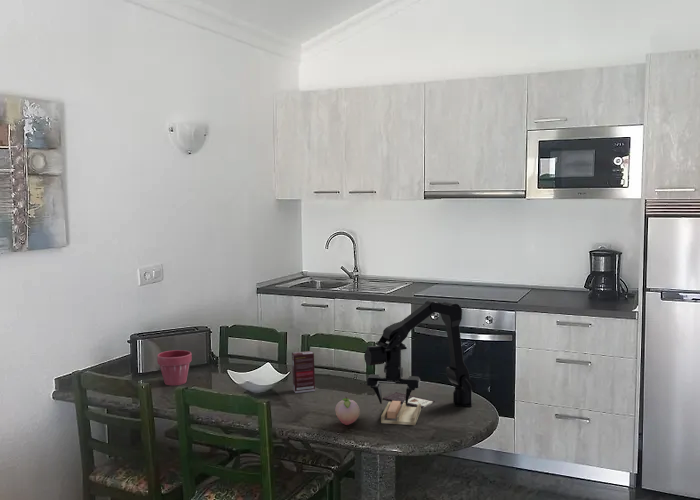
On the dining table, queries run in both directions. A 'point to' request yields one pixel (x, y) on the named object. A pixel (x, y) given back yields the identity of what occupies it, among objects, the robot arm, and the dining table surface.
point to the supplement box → (303, 371)
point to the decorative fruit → (347, 411)
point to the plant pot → (174, 366)
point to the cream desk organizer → (402, 415)
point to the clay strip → (394, 409)
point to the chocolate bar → (412, 399)
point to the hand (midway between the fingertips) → (393, 404)
